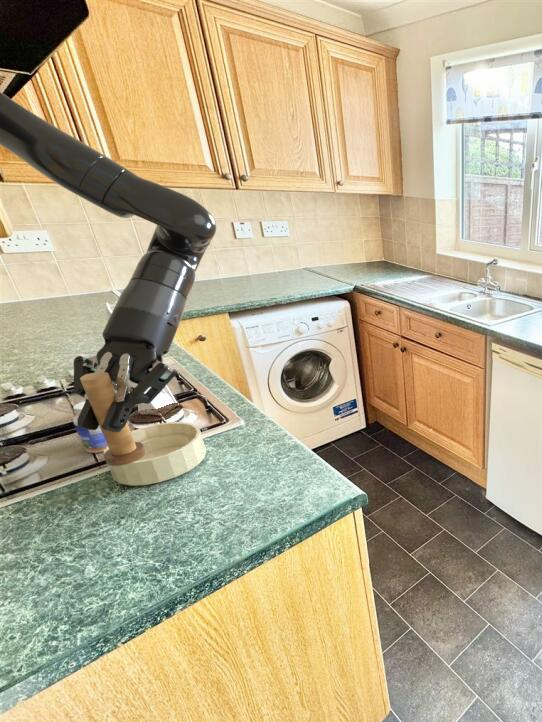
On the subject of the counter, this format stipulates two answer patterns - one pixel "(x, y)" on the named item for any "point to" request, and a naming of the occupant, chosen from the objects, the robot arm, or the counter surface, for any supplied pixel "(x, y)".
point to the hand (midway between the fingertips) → (99, 429)
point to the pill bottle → (89, 434)
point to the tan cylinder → (101, 400)
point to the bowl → (162, 453)
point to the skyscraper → (161, 399)
